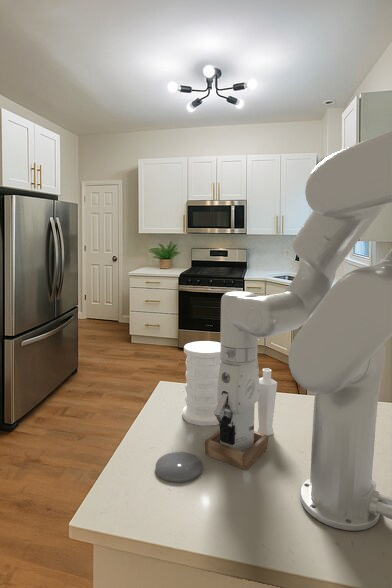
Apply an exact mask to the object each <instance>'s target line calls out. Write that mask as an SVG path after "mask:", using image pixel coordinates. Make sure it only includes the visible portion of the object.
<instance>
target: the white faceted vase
mask: <svg viewBox="0 0 392 588" xmlns="http://www.w3.org/2000/svg"><path fill="white" fill-rule="evenodd" d="M277 389H278V382H277V381H276V380H275V379H273V378H272V369H270V368H262V377H259V399H258V401H257V414H258V416H257V417H258V420H257V421H258V428H257V431H256V432H259V433H262V434H265V435H268V437H269V436H272V435H274V434H275V432H274V428H273V427H274V426H273V422H274V414H275V408H276V407H275V406H276V396H277Z"/></svg>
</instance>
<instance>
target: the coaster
mask: <svg viewBox="0 0 392 588" xmlns="http://www.w3.org/2000/svg"><path fill="white" fill-rule="evenodd" d="M202 471H203V463H202V460H201V459H200V457H198V456H197V455H196V454H193V453H190V452H186V451H173V452H168V453H166V454H164V455H162V456H160V457H159V458H158V459H157V460H156V462H155V473H156V475H157V476H158V478H160V479H162V480H164V481H165V482H168V483H176V484H180V483H187V482H191V481H193V480H195V479H197V478H198V477H199V476H200V475H201V474H202Z"/></svg>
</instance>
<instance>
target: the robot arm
mask: <svg viewBox="0 0 392 588" xmlns="http://www.w3.org/2000/svg"><path fill="white" fill-rule="evenodd" d="M307 178H308V179H307V180H306V184H305V189H304V194H305V199H306V202H307V204H308V206H309V208H310V209H311V210H312V211H311V213H310V215H309V216H308V218H307V219H306V220H305V222H304V224H303V225H302V227H301V228H300V230H299V231H298V232H297V234H296V236H295V237H294V238H293V240H292V249H293V252H294V253H295V255H296V256H297V257H298V258H299V260H300V264H299V269H298V271H297V272H296V275H295V276H294V277H293V279H292V281H291V282H290V284H289V285H288V286H287V288H286V289H285V290H284V291H283V292H280V293H274V294H269V295H261V296H258V295H257V294H255V293H254V292H251V291H250V292H249V291H241V290H240V291H239V290H238V291H237V290H236V291H227V292H225V293H224V294H223V295H222V296H221V300H220V342H219V343H220V360H221V364H220V370H219V378H218V394H217V401H218V405H217V407H216V409H215V411H214V415H215V416H216V418H217V420H218V421H219V424H218V425H219V430H220V441H222V442H224V443H227V444H230V445H234V444H235V426H234V425H233V424H234V419H235V415H236V414H240V413H242V412H243V411H245V410H246V409H248V408H249V407H250V406H252V405H253V404H254V402H255V404H256V403H258V399H259V378H260V369H259V360H258V348H259V347H258V343H259V341H258V338H260V339H265V338H266V339H267V338H270V337H275V336H278V335H281V334H284V333H287V332H292V331H295V330H298V329H299V331H298V332H297V333H296V335H295V336H294V338H293V340H292V341H291V344H290V347H289V349H288V350H289V351H288V357H287V358H288V361H287V362H288V367H289V371H290V373H291V375H292V377H293V379H294V380H295V382H296V383H297V384H298V385H299V386H300V387H302V388H303V389H305V390H306V391H308V392H310V393H314V400H313V412H312V413H313V415H312V432H311V433H312V436H311V453H310V454H311V456H310V457H311V458H310V477H309V478H308V479H305V481H303V482H302V485H301V486H300V489H299V499H300V502H301V505H302V507H303V508H304V509H305V511H306V512H307V513H308V514H310V515H311V517H313V518H314V519H316V520H318V522H321V523H322V524H325V525H327V526H329V527H332V528H335V529H340V530H343V531H350V532H351V531H363V530H368V529H370V528H373V526H375V525H376V524H377V523H378V521H379V520H380V516H383V517H386V518H387V519H389V520H392V497H391V496H388V495H383V494H381V493H380V491H377V490H376V488H377V481H375V480H373V468H374V467H373V466H374V465H373V464H374V457H375V455H374V452H375V442H376V439H375V438H376V426H377V425H376V424H377V418H378V417H377V416H378V407H379V406H378V403H379V396H380V389H381V384H382V379H383V375H384V371H385V365H386V364H385V363H386V358H387V357H386V356H387V355H386V353H387V352H386V344H385V343H386V342H387V341H388V340H389V339H390V338H391V337H392V248H391V249H390V250H389V251H388V252H387V253H386V255H385V256H384V257H383V258H382V259H381V260H380V261H379V262H378V263H377V264H375V265H369V266H363V267H358V268H355V269H353V270H352V271H349V272H348V273H345V275H343V276H342V277H340V278H339V280H337V281H336V282H335V283H334V280H335V278H336V274H337V273H336V272H337V271H338V268H339V267H340V266H341V264H342V263H343V262H344V260H345V259H346V258H347V257H348V255H349V254H350V252H351V251H352V249H354V247H355V246H356V244H357V243H358V242H359V240H360V239H361V238H362V237H363V235H364V234H366V232H367V231H368V229H369V228H370V227H371V225H372V224H373V223H374V222H375V220H376V219H377V217H378V216H379V215H380V214H381V213H382V211H383V209H384V208H385V207H386V205H388V204H390V203H392V129H390V130H387V131H385V132H383V133H380V134H378V135H374V136H373V137H370V138H368V139H365V140H363V141H360V142H357V143H355V144H352V145H351V146H348V147H345V148H343V149H341V150H339V151H336V152H334V153H332V154H330V155H328V156H327V157H325V158H324V159H323V160H321V161H320V162H319V163H318V164H317V165H316V166H315V167H314V168H313V169H312V171H310V174H309V176H308V177H307ZM333 283H334V284H333ZM332 285H333V286H332ZM227 406H230V409H231V410H230V409H227ZM254 409H255V407H254ZM226 412H229V413H231V414H230V418H228V417H227V416H225V415H226Z"/></svg>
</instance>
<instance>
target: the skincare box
mask: <svg viewBox="0 0 392 588" xmlns="http://www.w3.org/2000/svg"><path fill="white" fill-rule="evenodd" d="M255 404H256V403H255V402H254V404H253V405H252V406H250V407H249V408H248V409H246V410H245V411H243V412H242V413H240V414H236V415H235V419H234V424H233V425H234V426H235V444H234V445H230V444H227V443H224V442H222V441H220V444H223V445H225V446H228V447H231V448H234V449H236V450H239V451H242V452H244V453H245V452H246V451H247V450H248V449H249V448H250V447H251V446H252V445H254V431H255V408H254V407H255ZM227 409H230V406H227ZM230 410H231V409H230ZM230 414H231V413H229V412H226V415H225V416H227V417H228V418H230Z"/></svg>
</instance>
